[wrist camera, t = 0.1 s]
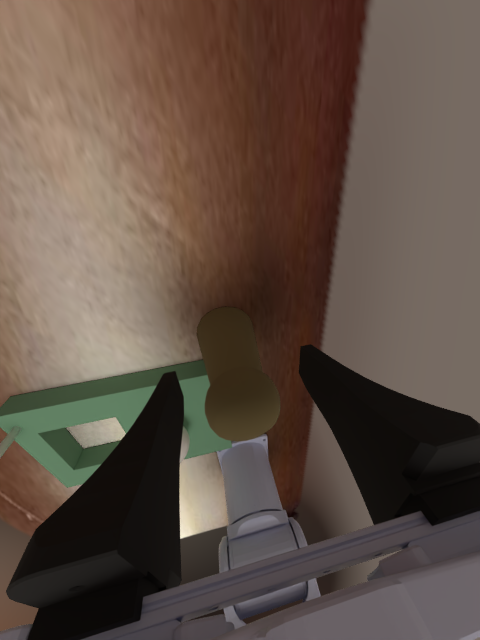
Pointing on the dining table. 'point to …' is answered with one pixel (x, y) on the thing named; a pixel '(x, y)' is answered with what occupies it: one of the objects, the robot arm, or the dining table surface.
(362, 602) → the robot arm
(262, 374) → the cork
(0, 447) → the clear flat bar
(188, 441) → the egg
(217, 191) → the dining table surface
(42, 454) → the green
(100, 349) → the dining table surface
